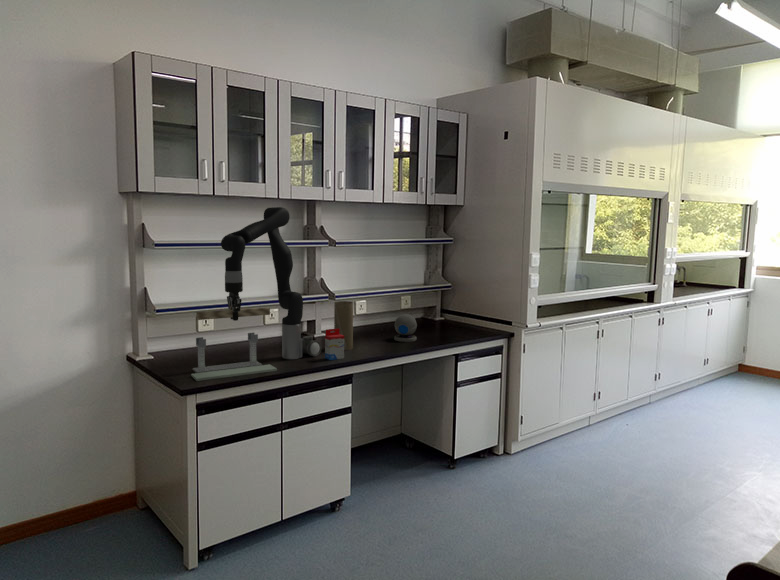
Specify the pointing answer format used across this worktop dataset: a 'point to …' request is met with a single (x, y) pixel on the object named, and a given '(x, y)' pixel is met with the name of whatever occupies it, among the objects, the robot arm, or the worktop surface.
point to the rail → (229, 313)
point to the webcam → (405, 328)
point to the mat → (233, 372)
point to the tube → (344, 321)
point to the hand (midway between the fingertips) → (234, 319)
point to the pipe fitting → (310, 346)
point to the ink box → (334, 345)
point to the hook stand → (201, 364)
